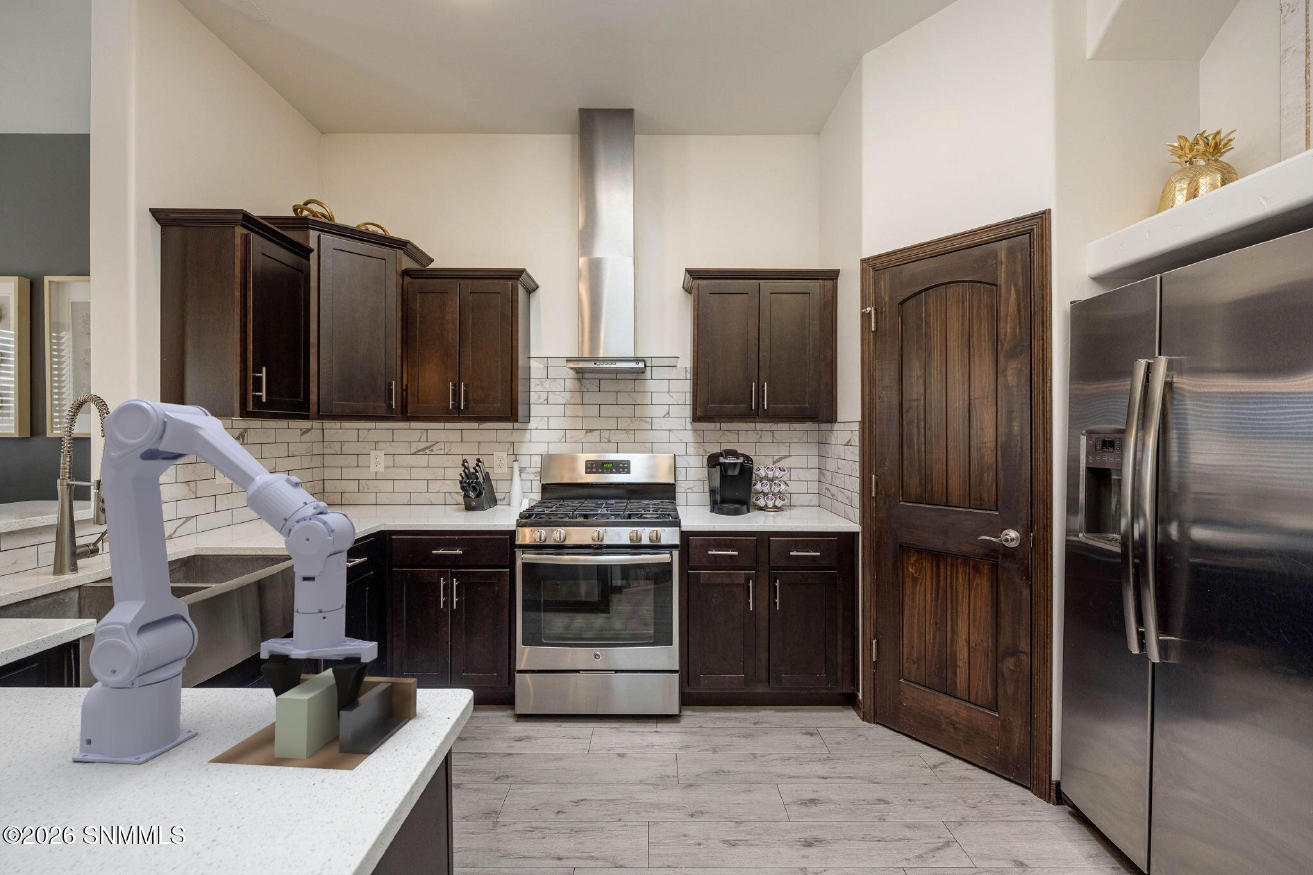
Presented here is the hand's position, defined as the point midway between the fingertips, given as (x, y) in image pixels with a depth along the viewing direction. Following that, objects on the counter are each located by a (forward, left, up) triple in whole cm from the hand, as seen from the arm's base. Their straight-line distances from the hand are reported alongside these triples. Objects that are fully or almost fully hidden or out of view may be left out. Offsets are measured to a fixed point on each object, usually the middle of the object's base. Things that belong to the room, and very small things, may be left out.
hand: (317, 715), depth 74 cm
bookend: (+7, +2, -3) cm, 8 cm away
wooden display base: (0, 0, -4) cm, 4 cm away
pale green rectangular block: (0, 0, -3) cm, 3 cm away
